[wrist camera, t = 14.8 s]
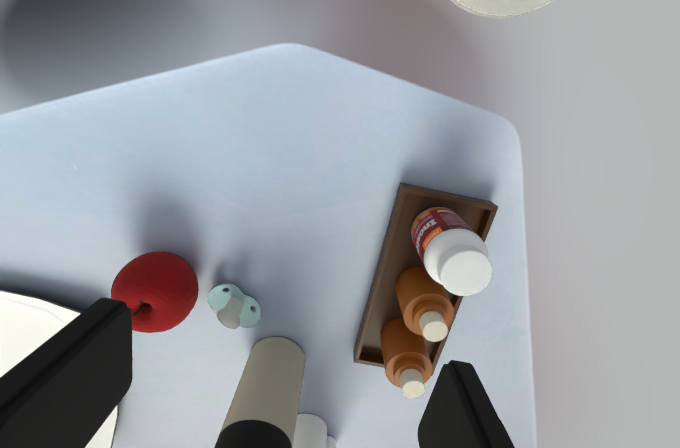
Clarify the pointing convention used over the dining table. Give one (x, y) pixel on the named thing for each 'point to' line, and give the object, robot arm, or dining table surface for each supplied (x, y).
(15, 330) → the plate
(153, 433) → the dining table surface
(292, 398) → the travel mug
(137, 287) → the apple
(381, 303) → the tray
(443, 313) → the amber bottle middle
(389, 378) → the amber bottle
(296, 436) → the vase
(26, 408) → the robot arm
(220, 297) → the pacifier
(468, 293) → the pill bottle
